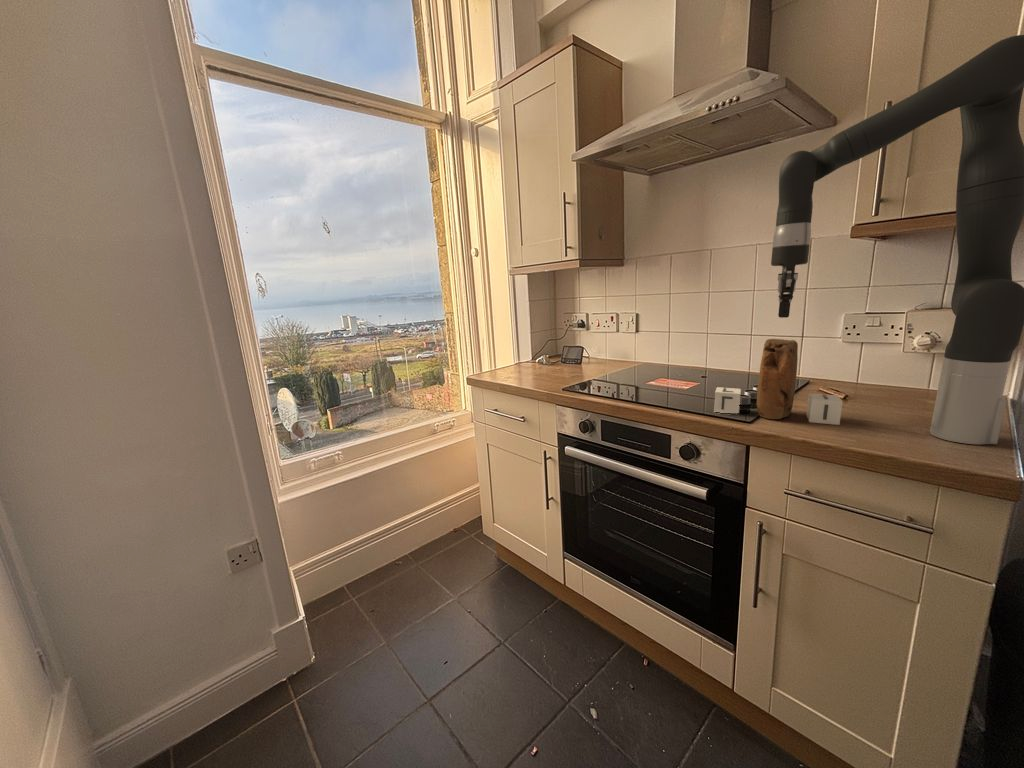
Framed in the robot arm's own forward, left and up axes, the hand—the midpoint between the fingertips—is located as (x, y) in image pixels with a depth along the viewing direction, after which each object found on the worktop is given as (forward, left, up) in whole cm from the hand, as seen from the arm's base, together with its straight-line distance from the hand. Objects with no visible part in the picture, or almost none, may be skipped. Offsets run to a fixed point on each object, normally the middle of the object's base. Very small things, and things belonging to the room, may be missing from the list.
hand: (783, 317), depth 103 cm
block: (0, 0, -26) cm, 26 cm away
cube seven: (+11, 0, -26) cm, 28 cm away
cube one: (-10, 0, -26) cm, 28 cm away
